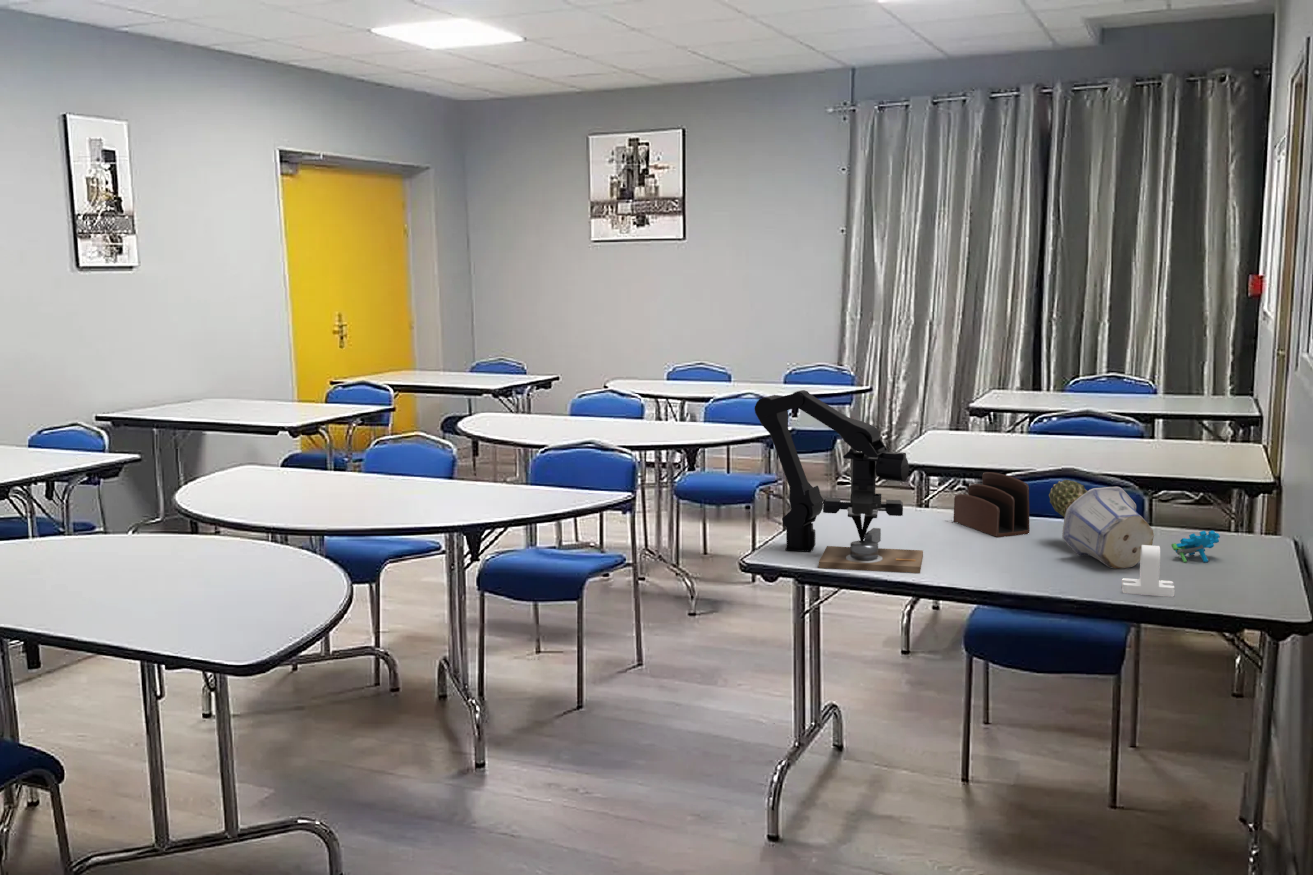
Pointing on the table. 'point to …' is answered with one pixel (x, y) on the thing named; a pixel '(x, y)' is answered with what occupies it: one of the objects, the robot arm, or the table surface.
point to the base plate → (873, 560)
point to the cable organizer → (1149, 576)
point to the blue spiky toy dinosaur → (1196, 544)
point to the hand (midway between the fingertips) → (862, 541)
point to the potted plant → (1101, 523)
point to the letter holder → (995, 506)
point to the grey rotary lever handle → (866, 546)
